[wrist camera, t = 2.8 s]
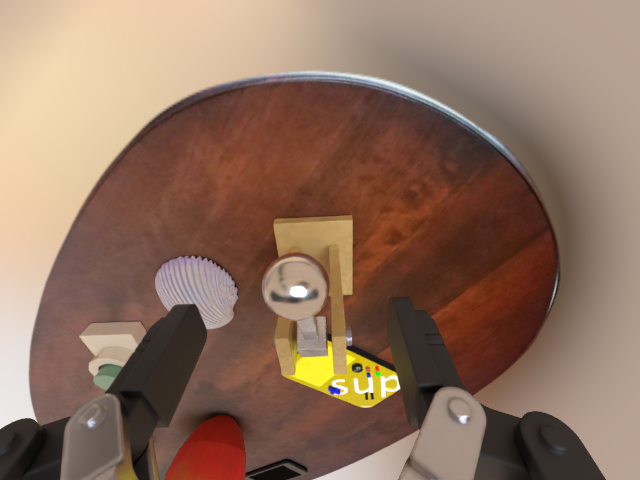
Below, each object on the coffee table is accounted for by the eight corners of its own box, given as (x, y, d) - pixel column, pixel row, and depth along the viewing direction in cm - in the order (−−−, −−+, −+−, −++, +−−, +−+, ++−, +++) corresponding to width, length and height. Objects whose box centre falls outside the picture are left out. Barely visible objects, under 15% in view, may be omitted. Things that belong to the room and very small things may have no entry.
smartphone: (241, 474, 64) (240, 479, 64) (287, 458, 59) (287, 463, 58) (264, 483, 67) (263, 488, 67) (309, 468, 62) (309, 473, 61)
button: (97, 363, 36) (87, 375, 34) (123, 362, 35) (115, 375, 34) (110, 378, 37) (101, 391, 36) (135, 378, 37) (127, 390, 36)
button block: (90, 322, 37) (67, 348, 33) (140, 321, 36) (121, 346, 33) (126, 370, 43) (109, 396, 39) (169, 369, 42) (156, 395, 39)
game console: (277, 368, 42) (275, 377, 41) (316, 328, 37) (316, 337, 36) (367, 403, 47) (368, 412, 46) (412, 372, 42) (415, 381, 41)
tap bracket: (274, 218, 28) (243, 311, 17) (351, 214, 28) (370, 306, 17) (286, 290, 33) (268, 396, 22) (351, 287, 33) (365, 393, 22)
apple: (176, 415, 50) (130, 523, 38) (223, 396, 46) (188, 509, 34) (224, 441, 55) (196, 542, 43) (269, 425, 52) (252, 532, 40)
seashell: (208, 350, 35) (123, 328, 29) (215, 314, 39) (141, 288, 33) (256, 312, 31) (167, 277, 25) (258, 275, 35) (181, 239, 29)
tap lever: (258, 241, 12) (249, 308, 11) (327, 237, 12) (330, 306, 11) (295, 322, 23) (294, 362, 22) (332, 321, 23) (334, 361, 21)
